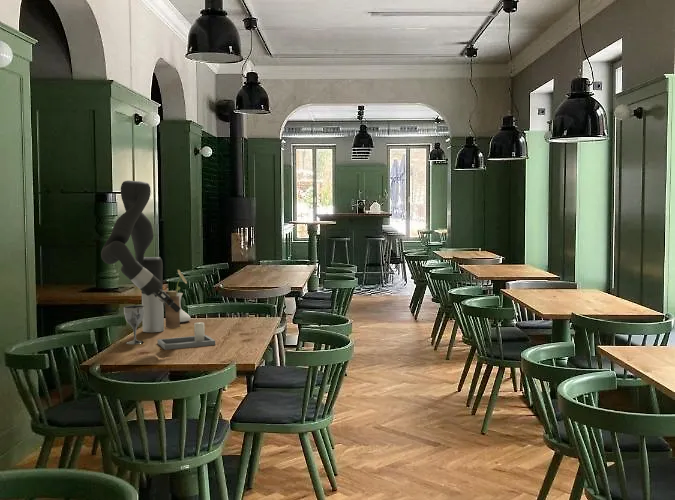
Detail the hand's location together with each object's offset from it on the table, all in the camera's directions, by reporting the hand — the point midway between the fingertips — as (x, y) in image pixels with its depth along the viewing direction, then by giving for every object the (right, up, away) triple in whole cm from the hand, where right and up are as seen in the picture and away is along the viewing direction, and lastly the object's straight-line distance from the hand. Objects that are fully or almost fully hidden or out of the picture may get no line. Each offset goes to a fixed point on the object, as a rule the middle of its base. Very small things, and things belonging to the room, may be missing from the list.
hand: (176, 309), depth 295 cm
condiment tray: (+3, -15, +2) cm, 15 cm away
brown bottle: (-2, -7, 0) cm, 7 cm away
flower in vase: (-13, -11, +63) cm, 65 cm away
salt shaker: (+8, -14, +5) cm, 17 cm away
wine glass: (-20, -15, +12) cm, 27 cm away
